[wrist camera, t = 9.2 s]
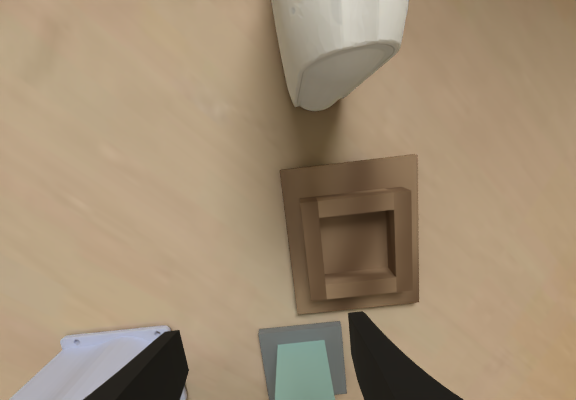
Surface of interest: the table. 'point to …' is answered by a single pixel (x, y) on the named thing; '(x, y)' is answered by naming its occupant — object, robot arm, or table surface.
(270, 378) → the pad
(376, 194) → the pocket board
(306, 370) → the block
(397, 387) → the robot arm
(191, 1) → the table surface
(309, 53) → the photo printer
